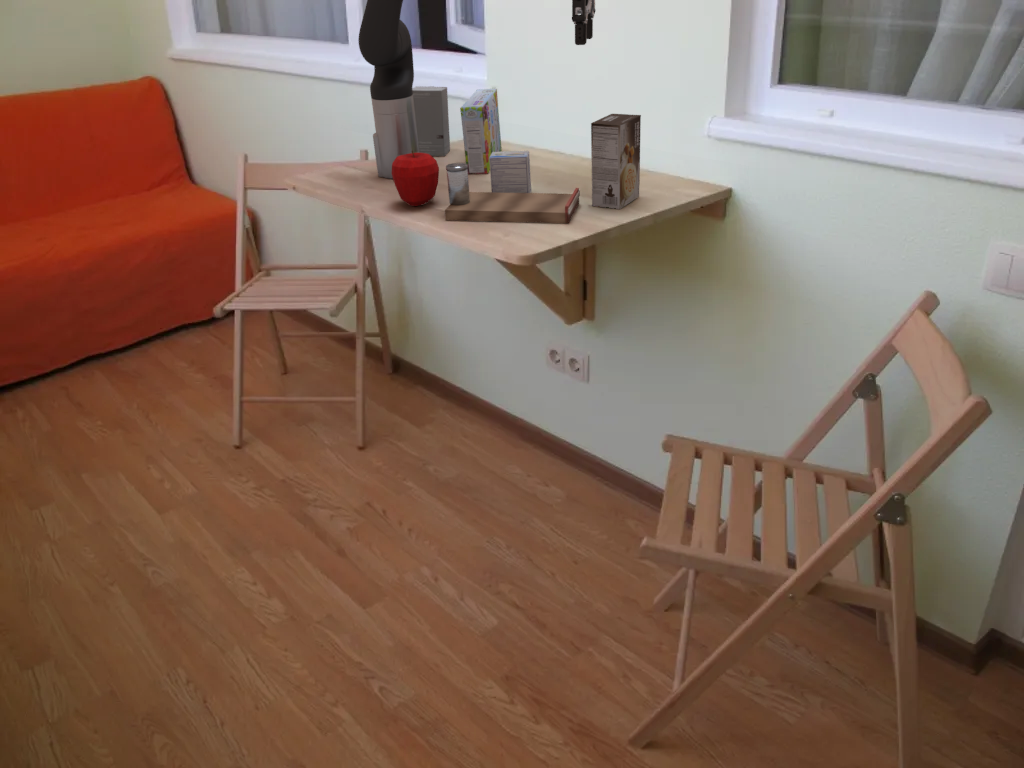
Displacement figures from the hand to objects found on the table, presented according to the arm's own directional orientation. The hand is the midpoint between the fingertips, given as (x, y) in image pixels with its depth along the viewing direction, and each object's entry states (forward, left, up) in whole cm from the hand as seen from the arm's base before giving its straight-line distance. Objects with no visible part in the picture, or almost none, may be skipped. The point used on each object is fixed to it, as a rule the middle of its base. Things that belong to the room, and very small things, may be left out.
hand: (583, 41), depth 165 cm
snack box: (-26, +12, -28) cm, 40 cm away
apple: (-31, -21, -28) cm, 47 cm away
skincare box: (-42, +20, -28) cm, 54 cm away
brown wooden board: (-10, -25, -28) cm, 38 cm away
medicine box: (-13, -14, -28) cm, 34 cm away
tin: (-21, -26, -26) cm, 42 cm away
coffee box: (+9, -17, -28) cm, 34 cm away
